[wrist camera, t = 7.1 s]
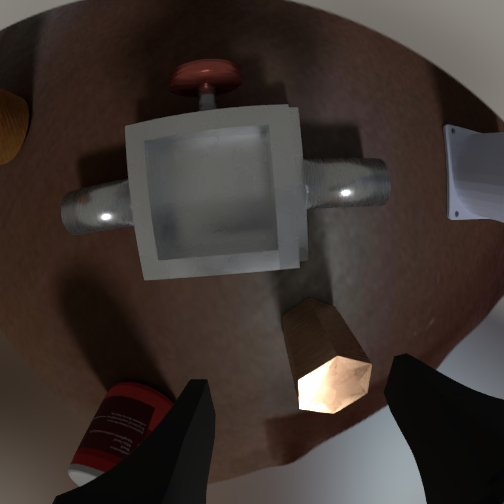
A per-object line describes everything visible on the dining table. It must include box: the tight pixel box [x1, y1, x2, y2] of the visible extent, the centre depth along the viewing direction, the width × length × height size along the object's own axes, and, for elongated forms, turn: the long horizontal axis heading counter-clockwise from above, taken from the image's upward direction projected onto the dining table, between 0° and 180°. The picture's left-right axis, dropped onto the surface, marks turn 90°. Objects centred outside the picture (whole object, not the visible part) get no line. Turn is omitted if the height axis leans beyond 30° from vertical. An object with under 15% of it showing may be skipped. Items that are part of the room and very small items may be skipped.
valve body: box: [61, 59, 391, 280], centre depth 14 cm, size 20×11×4 cm, turn 95°
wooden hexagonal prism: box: [282, 297, 372, 413], centre depth 16 cm, size 4×5×7 cm
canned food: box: [68, 382, 173, 486], centre depth 16 cm, size 8×8×11 cm
